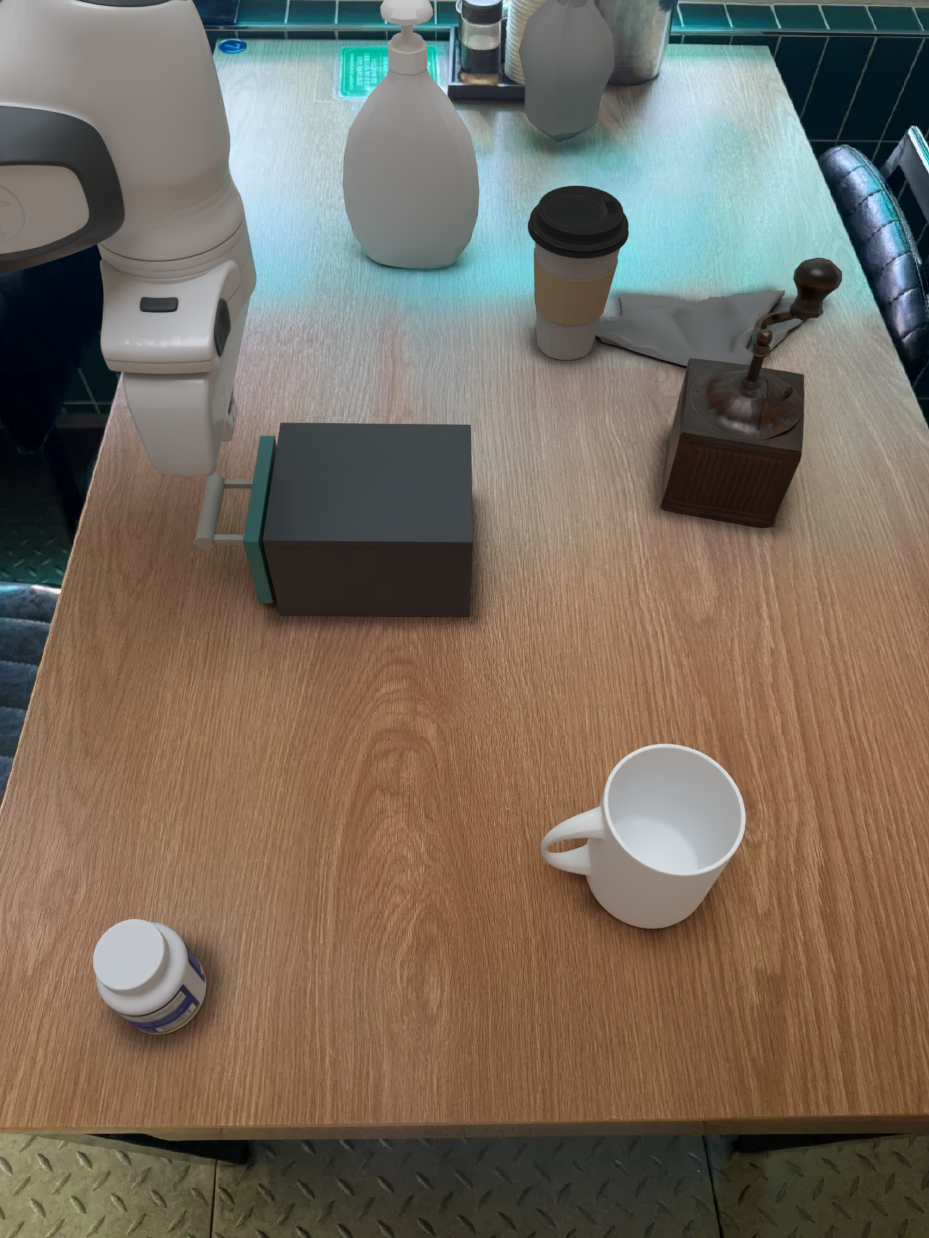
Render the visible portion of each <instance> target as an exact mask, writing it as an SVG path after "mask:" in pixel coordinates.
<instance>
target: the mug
mask: <svg viewBox="0 0 929 1238" xmlns="http://www.w3.org/2000/svg"><path fill="white" fill-rule="evenodd" d="M746 815H747V813H746V808H745V802H744V799H743V796H742V794H741V792H740V790H739V787H738V786H737V784H736V783H735V780H734V779H733V778H732V777H731V775H730V774H729V773H728V772H727V770H726V769H724V768H723V766H721V765H720V764H719V763H718V762H717V761H716V760H714V759H713V758H711V757H710V756H708V755H706V754H705V753H703V752H701V751H699V750H697V749H694V748H691V747H688V746H684V745H680V744H673V743H658V744H651V745H647V746H643V747H641V748H637V749H636V750H635V749H634V750H633V751H631V752H629V753H628V754H626V756H624V757H622V759H620V761H618V762H617V763H616V765H615V766H614V767H613V768H612V770H611V771H610V773H609V775H608V777H607V779H606V782H605V785H604V788H603V792H602V795H601V798H600V801H599V804H598V806H596V807H594V808H591V809H589V810H586V811H584V812H581V813H578V814H576V815H574V816H571V817H569V818H567V819H566V820H564V821H561V822H560V823H559V824H557V825H555V826H554V827H552V829H550V830H549V831H548V832H547V833H546V834H545V835H544V837H543V839H542V841H541V843H540V848H539V851H540V855H541V857H542V859H543V860H544V861H545V863H547V864H548V865H550V866H552V867H554V868H556V869H558V870H561V871H563V872H567V873H572V874H577V875H583V876H585V878H586V881H587V885H588V886H589V888H590V891H591V893H592V895H593V896H594V898H595V900H597V902H598V903H599V905H600V906H601V907H602V908H603V909H604V910H605V911H606V912H607V913H609V914H610V915H611V916H613V917H614V918H615V919H617V920H619V921H621V922H623V923H625V924H627V925H629V926H633V927H637V928H641V929H664V928H667V927H671V926H673V925H676V924H679V923H680V922H682V921H684V920H685V919H687V918H689V916H691V915H692V914H693V913H694V912H695V911H696V910H697V908H698V907H700V905H701V903H702V902H703V901H704V900H705V898H706V896H707V895H708V893H709V892H710V891H711V889H712V887H713V886H714V884H715V883H716V882H717V880H718V878H719V877H720V875H721V874H722V873H723V872H724V870H725V868H726V867H727V865H728V864H729V862H730V861H731V859H732V857H734V855H735V853H736V852H737V851H738V849H739V847H740V845H741V843H742V841H743V838H744V835H745V831H746V823H747V819H746V818H747V817H746ZM573 839H587V841H586V844H584V845H582V846H580V847H576V848H573V849H570V850H567V851H563V852H551V851H548V847H549V846H551V845H554V844H556V843H558V842H561V841H565V840H566V841H567V840H573Z"/></svg>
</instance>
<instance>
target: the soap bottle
mask: <svg viewBox="0 0 929 1238" xmlns="http://www.w3.org/2000/svg"><path fill="white" fill-rule="evenodd" d="M379 8H380V10H379V11H380V15H381V19H382V20H384V21H385V22H387V23H390V24H392V25H396V26H397V25H398V26H400V32H398V33H395V34H393V36H392V37H391V38H390V40H389V41H388V43H387V54H388V55H387V57H388V58H387V59H388V70H387V73H386V75H385V76H384V77H383V78H382V80H380V82H379V83H378V84H377V86H375V88H374V89H373V90H372V91H371V92H370V94H369V95H368V96H367V98H366V100H365V101H364V103H363V105H362V106H361V108H360V110H359V112H358V113H357V115H356V116H355V118H354V120H353V121H352V123H351V125H350V126H349V128H348V132H347V137H346V143H345V147H344V152H343V159H342V160H343V162H342V163H343V165H342V169H343V170H342V192H343V200H344V209H345V213H346V216H347V219H348V222H349V225H350V228H351V231H352V234H353V237H354V238H355V239H356V241H357V243H359V245H360V246H361V248H362V249H363V251H364V252H365V254H366V255H367V256H368V258H370V259H371V260H372V261H374V262H376V263H378V264H380V265H381V264H382V265H383V266H389V267H390V266H391V267H396V268H405V269H426V270H427V269H440V268H447V267H449V266H451V265H453V264H454V263H455V262H457V260H458V259H459V258H460V257H461V255H462V254H463V253H464V251H465V249H466V248H467V247H468V246H469V244H470V242H471V240H472V238H473V233H474V231H475V228H476V223H477V220H478V217H479V208H480V207H479V206H480V181H479V170H478V161H477V157H476V153H475V148H474V144H473V140H472V134H471V132H470V131H469V128H468V127H467V125H466V124H465V123H464V122H465V121H463V119H462V117H461V115H460V114H459V112H458V111H457V109H456V107H455V106H454V104H453V103H452V101H451V99H450V98H449V96H448V95H447V94H446V92H445V91H444V90H443V89H442V88H441V86H440V85H439V84H438V83H437V82H436V81H435V80H434V78H433V77H432V76H431V75H430V72H429V70H428V44H427V43H428V42H427V41H426V40H425V39H424V38H423V36H422V35H421V34H419V33H417V32H414V26H419V25H422V24H424V23H427V22H429V21H430V20H431V19H432V17H434V9H433V7H432V3H431V2H430V1H429V0H383V2H382V3H381V5H380V6H379Z"/></svg>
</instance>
